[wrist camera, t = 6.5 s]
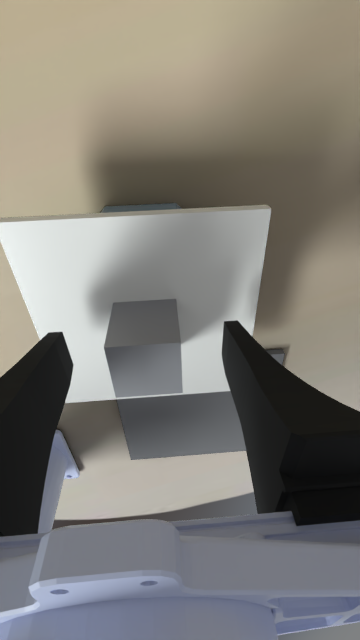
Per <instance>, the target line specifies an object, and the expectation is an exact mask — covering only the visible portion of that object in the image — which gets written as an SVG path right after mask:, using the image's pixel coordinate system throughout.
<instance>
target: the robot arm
mask: <svg viewBox="0 0 360 640" xmlns="http://www.w3.org/2000/svg"><path fill="white" fill-rule="evenodd" d="M222 360H223V366H224V371H225V375H226V379H227V382H228V385H229V388H230V391H231V394H232V397H233V400H234V404H235V407H236V410H237V413H238V416H239V420H240V423H241V427H242V432H243V437H244V442H245V446H246V451H247V456H248V461H249V467H250V472H251V477H252V483H253V488H254V494H255V500H256V506H257V512H258V514H252V515H242V516H230V517H219V518H208V519H196V520H185V521H174V522H165V521H162V520H150V519H144V520H143V519H142V520H131V521H120V522H109V523H98V524H86V525H75V526H66V527H62V528H56V529H53V530H52V525H53V522H54V518H55V513H56V509H57V505H58V501H59V497H60V493H61V488H62V484H63V480H64V479H72V478H78V477H79V475H80V472H79V469H78V467H77V465H76V463H75V461H74V458H73V456H72V454H71V452H70V450H69V448H68V445H67V443H66V441H65V439H64V437H63V434H62V432H61V431H59V430H56V428H57V425H58V422H59V419H60V416H61V413H62V410H63V407H64V403H65V400H66V397H67V394H68V391H69V387H70V384H71V378H72V372H73V366H74V365H73V362H72V359H71V356H70V353H69V350H68V347H67V344H66V341H65V338H64V335H63V332H49V333H47V334H46V335H45V336H44V337H43V338H42V339H41V340H40V341H39V342H38V343H37V344H36V345H35V346H34V347H33V348H32V349H31V350H30V351H29V352H28V353H27V354H26V355H25V356H24V357H23V358H22V359H21V360H20V361H19V362H17V363H16V364H15V365H14V366H13V367H12V368H11V369H10V370H9V371H7V372H6V373H5V374H4V375H3V376H2V377H1V378H0V640H279V639H278V635H281V634H288V633H294V632H300V631H307V630H313V629H319V628H325V627H332V626H338V625H344V624H351V623H356V622H360V412H359V411H357V410H355V409H353V408H351V407H348V406H346V405H344V404H342V403H340V402H338V401H336V400H335V399H333V398H331V397H329V396H327V395H325V394H324V393H322V392H320V391H318V390H317V389H315V388H314V387H312V386H310V385H309V384H307V383H306V382H304V381H303V380H301V379H300V378H298V377H297V376H295V375H294V374H293V373H291V372H290V371H289V370H287V369H286V368H285V367H284V366H282V365H281V364H280V363H279V362H278V361H277V360H275V359H274V358H273V357H272V356H271V355H270V354H269V353H268V352H267V351H266V350H265V349H264V348H263V347H262V346H261V345H260V344H259V343H258V342H257V341H256V340H255V339H254V338H253V337H252V336H251V335H250V334H249V333H248V331H247V330H246V329H245V328H244V327H243V326H242V325H241V324H240V322H239V321H237V320H236V321H224V327H223V341H222ZM51 530H52V531H51Z"/></svg>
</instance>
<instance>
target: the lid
mask: <svg viewBox="0 0 360 640" xmlns="http://www.w3.org/2000/svg"><path fill="white" fill-rule="evenodd" d="M270 216H271V208H270V207H269V206H268V205H250V206H230V207H210V208H190V209H170V210H150V211H129V212H109V213H89V214H69V215H49V216H29V217H8V218H0V241H1V244H2V246H3V249H4V251H5V254H6V256H7V259H8V261H9V264H10V266H11V269H12V271H13V274H14V276H15V279H16V281H17V284H18V286H19V288H20V291H21V293H22V296H23V298H24V301H25V303H26V306H27V308H28V311H29V313H30V316H31V318H32V321H33V323H34V326H35V328H36V331H37V333H38V336H39V338H40V340H41V339H42V338H43V337H44V336H45V335H46V334H47V333H49V332H63V335H64V338H65V341H66V344H67V347H68V350H69V353H70V356H71V359H72V362H73V365H74V366H73V372H72V378H71V384H70V387H69V391H68V394H67V397H66V400H65V403H74V402H87V401H101V400H115V399H128V398H142V397H156V396H170V395H183V394H197V393H211V392H225V391H230V388H229V385H228V382H227V379H226V375H225V371H224V366H223V360H222V341H223V327H224V321H236V320H237V321H239V322H240V324H241V325H242V326H243V327H244V328H245V329H246V330H247V331H248V333H249V334H250V335H251V336H253V329H254V323H255V316H256V309H257V303H258V296H259V289H260V283H261V276H262V269H263V263H264V256H265V249H266V243H267V236H268V229H269V223H270Z"/></svg>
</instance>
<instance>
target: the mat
mask: <svg viewBox="0 0 360 640" xmlns="http://www.w3.org/2000/svg"><path fill="white" fill-rule="evenodd" d="M266 351H267V352H268V353H269V354H270V355H271V356H272V357H273V358H274V359H275V360H277V361H278V362H279V363H280V364H281V365H282V363H283V359H284V355H285V353H284V351H283V349H277V350H266ZM116 400H117V404H118V408H119V412H120V416H121V420H122V425H123V429H124V433H125V437H126V441H127V445H128V449H129V454H130V458H131V460H136V459H149V458H161V457H174V456H186V455H198V454H211V453H223V452H235V451H246V446H245V442H244V437H243V432H242V427H241V423H240V420H239V416H238V413H237V410H236V407H235V404H234V400H233V397H232V394H231V391H225V392H211V393H197V394H183V395H170V396H156V397H142V398H128V399H116Z"/></svg>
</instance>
